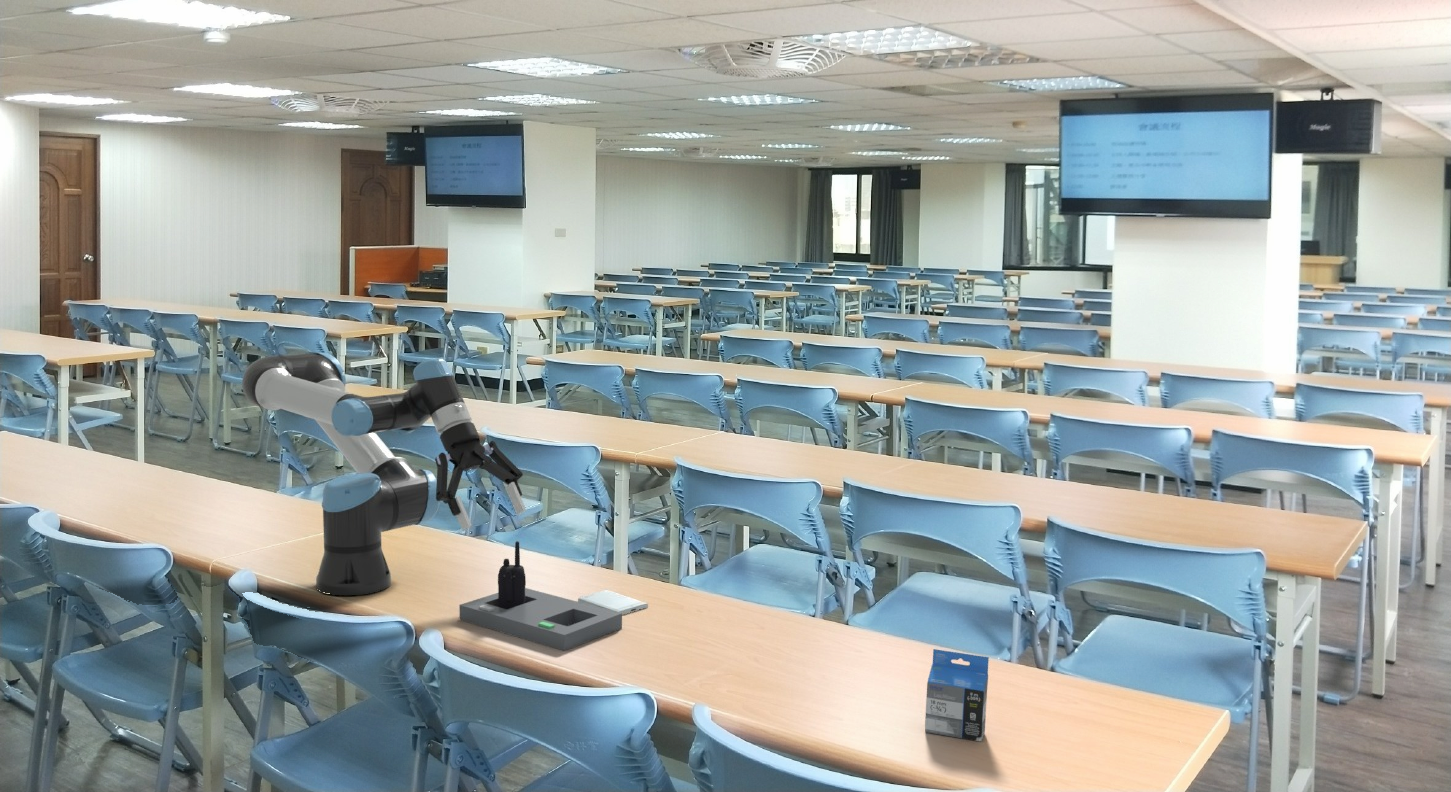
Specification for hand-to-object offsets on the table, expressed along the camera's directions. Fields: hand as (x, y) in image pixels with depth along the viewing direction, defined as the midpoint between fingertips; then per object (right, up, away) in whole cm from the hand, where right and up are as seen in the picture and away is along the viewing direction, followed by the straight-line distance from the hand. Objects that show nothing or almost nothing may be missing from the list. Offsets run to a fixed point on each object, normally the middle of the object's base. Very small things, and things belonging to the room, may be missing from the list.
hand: (495, 520), depth 246 cm
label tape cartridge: (+83, -27, -60) cm, 106 cm away
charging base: (+11, -19, -13) cm, 26 cm away
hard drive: (+24, -18, 0) cm, 30 cm away
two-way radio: (+5, -18, -9) cm, 21 cm away
